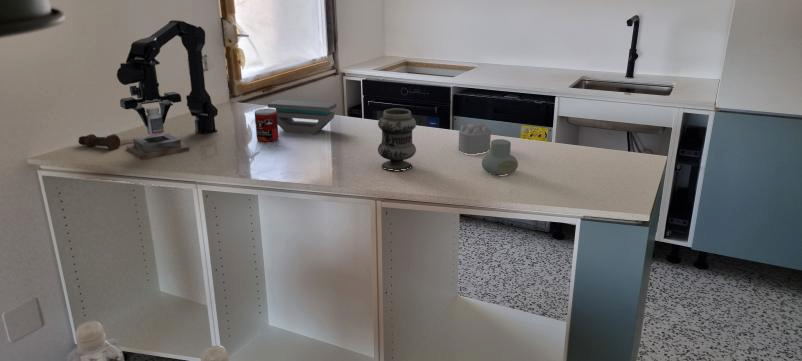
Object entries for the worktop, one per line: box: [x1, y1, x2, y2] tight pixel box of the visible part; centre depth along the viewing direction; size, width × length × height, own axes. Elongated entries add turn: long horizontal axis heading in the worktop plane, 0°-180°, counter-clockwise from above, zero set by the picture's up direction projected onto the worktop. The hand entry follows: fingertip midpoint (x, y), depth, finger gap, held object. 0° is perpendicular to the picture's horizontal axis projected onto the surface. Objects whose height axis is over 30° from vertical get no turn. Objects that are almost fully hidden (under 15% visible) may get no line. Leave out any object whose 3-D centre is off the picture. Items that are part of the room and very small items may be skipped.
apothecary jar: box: [377, 107, 417, 170], centre depth 186 cm, size 12×12×18 cm
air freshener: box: [481, 138, 519, 176], centre depth 182 cm, size 11×8×10 cm
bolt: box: [77, 133, 121, 151], centre depth 211 cm, size 6×5×15 cm
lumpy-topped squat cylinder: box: [458, 122, 492, 154], centre depth 205 cm, size 10×13×9 cm
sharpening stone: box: [267, 99, 337, 136], centre depth 230 cm, size 25×8×11 cm, turn 73°
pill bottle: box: [145, 106, 165, 136], centre depth 205 cm, size 5×5×9 cm
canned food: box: [254, 108, 279, 144], centre depth 217 cm, size 8×8×11 cm
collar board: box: [126, 132, 190, 160], centre depth 208 cm, size 16×16×4 cm
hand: (154, 125), depth 205 cm, fingers closed on pill bottle, 5 cm apart
